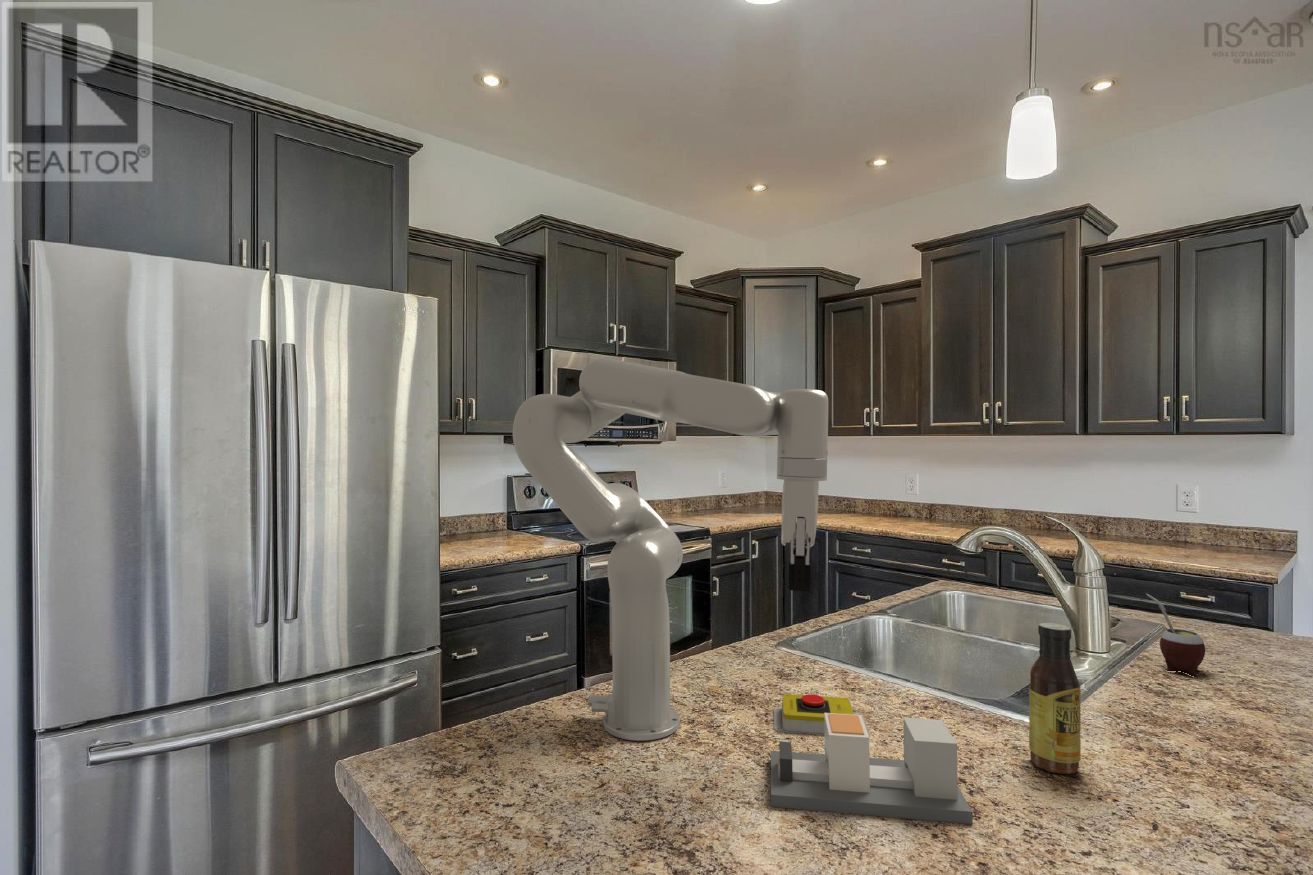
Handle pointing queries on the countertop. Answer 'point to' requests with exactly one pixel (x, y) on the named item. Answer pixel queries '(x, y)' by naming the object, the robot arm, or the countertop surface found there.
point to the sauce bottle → (1054, 704)
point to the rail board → (880, 780)
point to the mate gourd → (1181, 647)
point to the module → (847, 752)
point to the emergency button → (809, 713)
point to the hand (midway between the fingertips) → (799, 589)
